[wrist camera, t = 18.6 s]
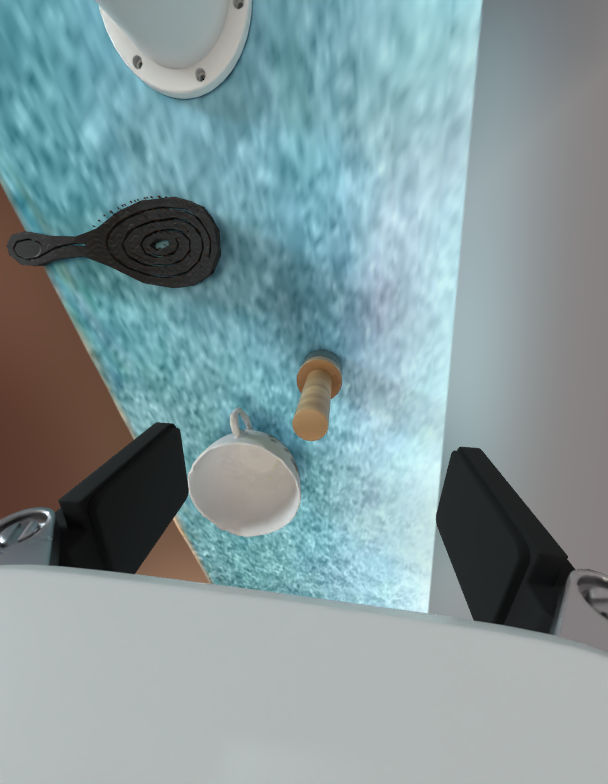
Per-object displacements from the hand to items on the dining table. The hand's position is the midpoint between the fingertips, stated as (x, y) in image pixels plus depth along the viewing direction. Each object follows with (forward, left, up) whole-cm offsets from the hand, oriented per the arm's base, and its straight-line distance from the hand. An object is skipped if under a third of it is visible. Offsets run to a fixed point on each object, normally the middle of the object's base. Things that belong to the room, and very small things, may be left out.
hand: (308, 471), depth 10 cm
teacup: (+11, -13, -24) cm, 30 cm away
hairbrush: (-16, -19, -24) cm, 35 cm away
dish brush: (+3, -2, -24) cm, 25 cm away
